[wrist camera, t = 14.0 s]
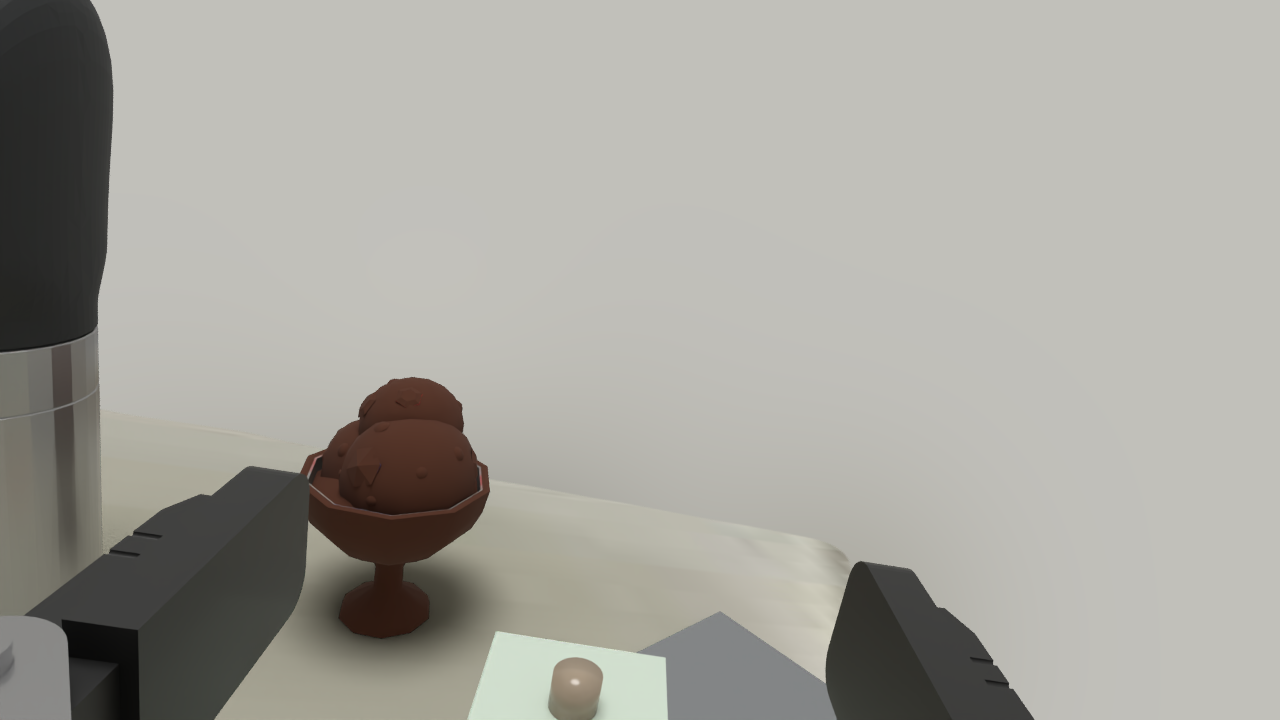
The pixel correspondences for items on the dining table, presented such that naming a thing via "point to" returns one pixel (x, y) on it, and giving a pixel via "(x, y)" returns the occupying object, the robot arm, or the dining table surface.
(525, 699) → the tall green carton
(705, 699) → the mat
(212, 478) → the dining table surface
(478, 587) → the dining table surface
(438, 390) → the ice cream bowl
